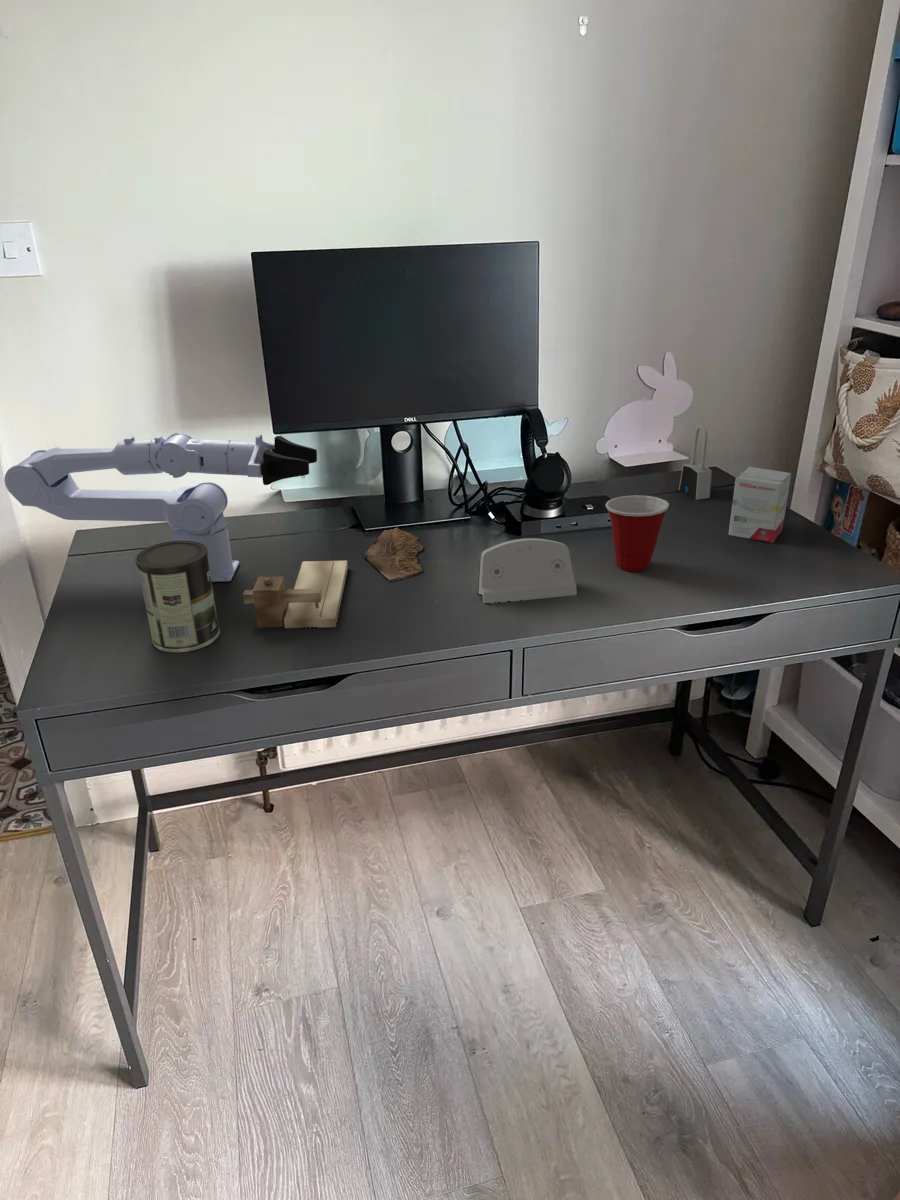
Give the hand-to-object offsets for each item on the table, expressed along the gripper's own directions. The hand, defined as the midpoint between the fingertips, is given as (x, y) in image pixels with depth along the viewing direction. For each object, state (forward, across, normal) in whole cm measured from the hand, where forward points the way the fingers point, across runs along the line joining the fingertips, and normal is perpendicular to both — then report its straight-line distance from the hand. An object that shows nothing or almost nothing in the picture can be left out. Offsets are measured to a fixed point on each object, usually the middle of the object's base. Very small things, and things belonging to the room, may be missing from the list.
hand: (312, 461), depth 144 cm
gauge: (-2, -16, +22) cm, 27 cm away
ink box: (+82, +20, +15) cm, 86 cm away
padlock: (+76, +41, +15) cm, 87 cm away
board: (+2, -8, +21) cm, 23 cm away
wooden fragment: (+13, +10, +20) cm, 26 cm away
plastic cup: (+56, +4, +18) cm, 59 cm away
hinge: (+37, -5, +19) cm, 42 cm away
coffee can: (-16, -22, +23) cm, 36 cm away
